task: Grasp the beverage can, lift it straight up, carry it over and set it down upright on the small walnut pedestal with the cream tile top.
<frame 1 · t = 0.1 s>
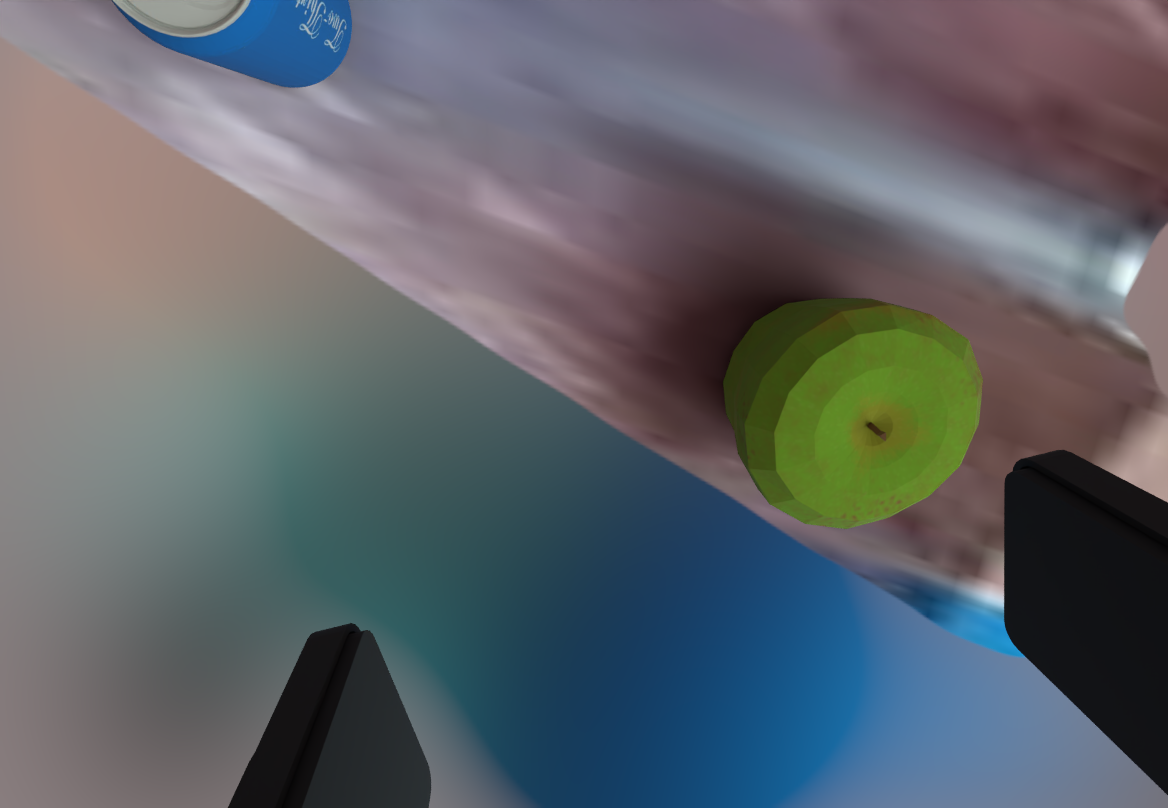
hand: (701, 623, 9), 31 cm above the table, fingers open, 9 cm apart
apple: (796, 372, 42), on the table
beverage can: (291, 19, 33), on the table
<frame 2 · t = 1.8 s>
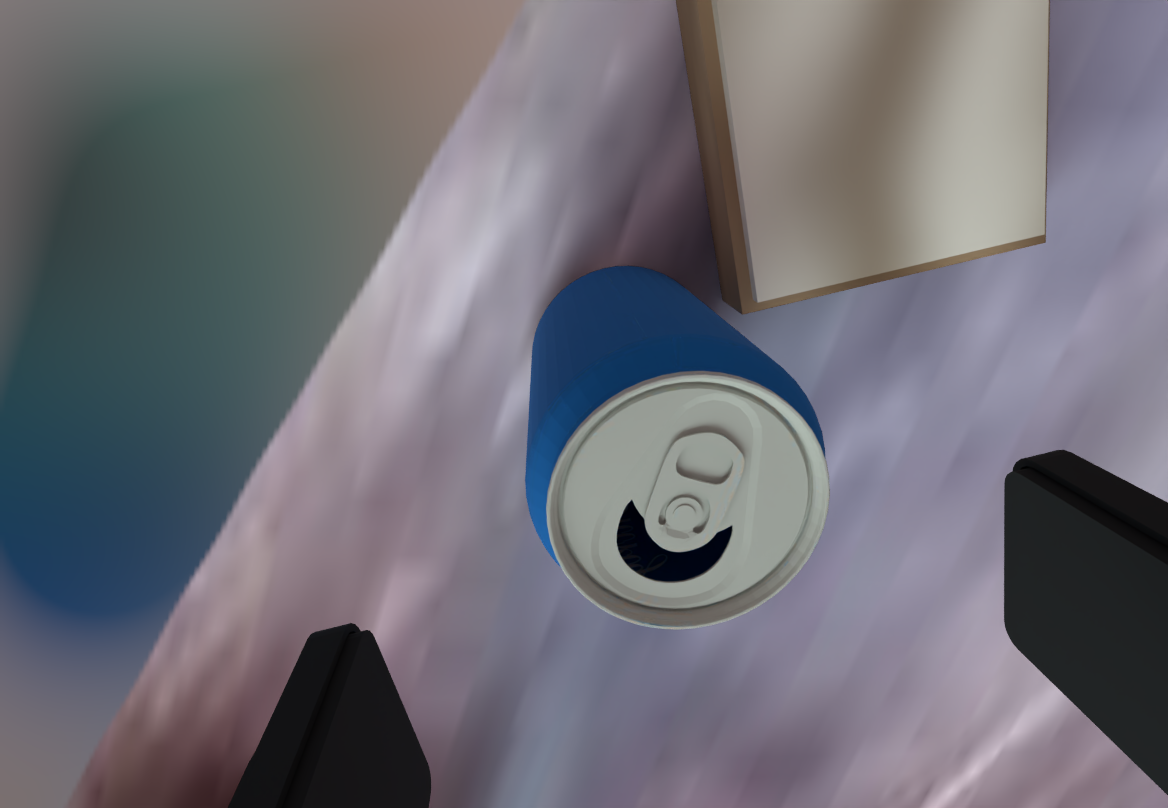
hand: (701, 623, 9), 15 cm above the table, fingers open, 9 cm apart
pedestal: (846, 120, 22), on the table
beverage can: (619, 350, 24), on the table
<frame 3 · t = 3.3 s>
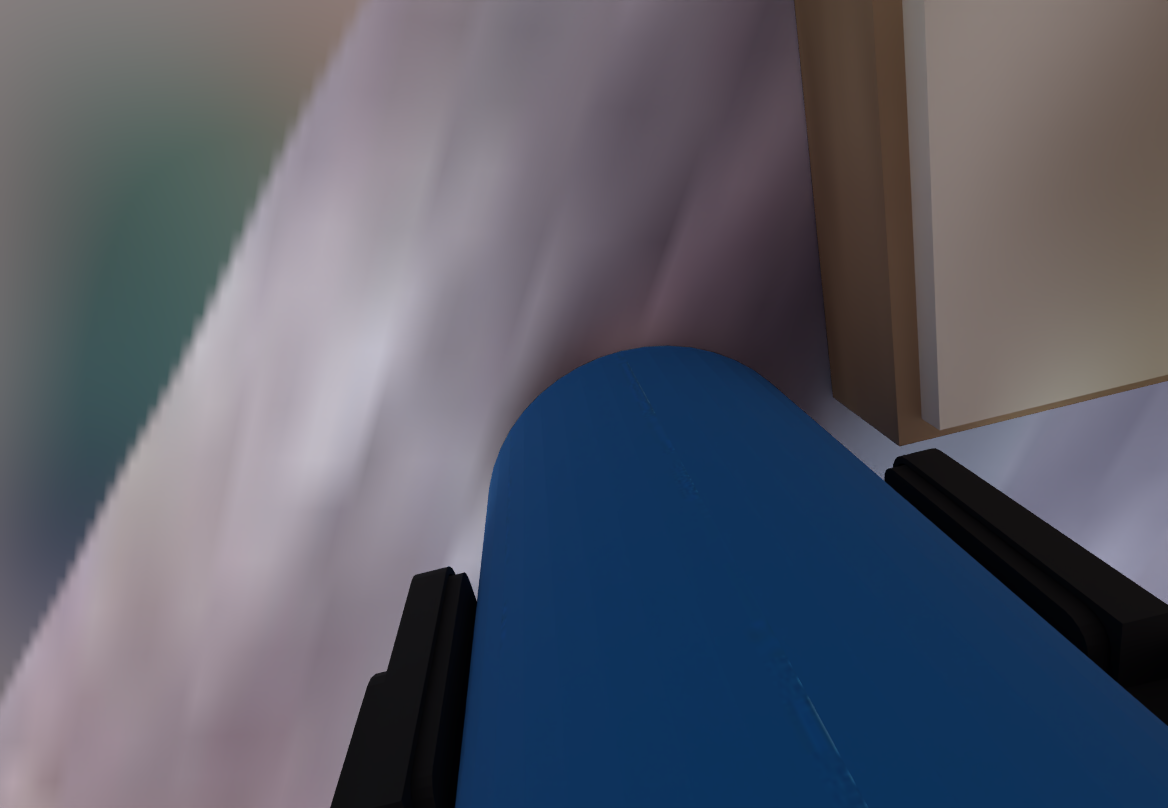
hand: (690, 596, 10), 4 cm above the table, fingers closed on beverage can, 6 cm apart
pedestal: (1083, 69, 11), on the table
beverage can: (645, 482, 14), on the table, touching gripper
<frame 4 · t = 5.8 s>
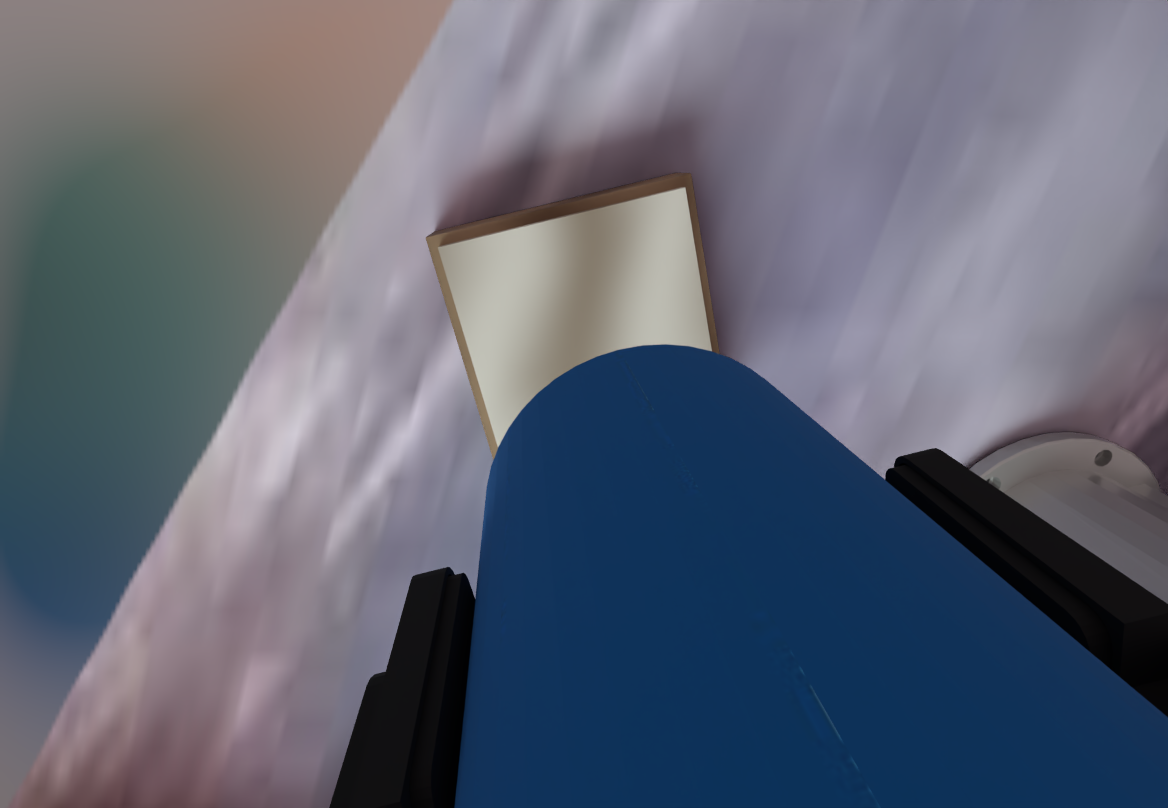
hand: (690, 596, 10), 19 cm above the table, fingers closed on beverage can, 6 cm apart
pedestal: (582, 320, 28), on the table
beverage can: (643, 481, 14), point 15 cm above the table, touching gripper
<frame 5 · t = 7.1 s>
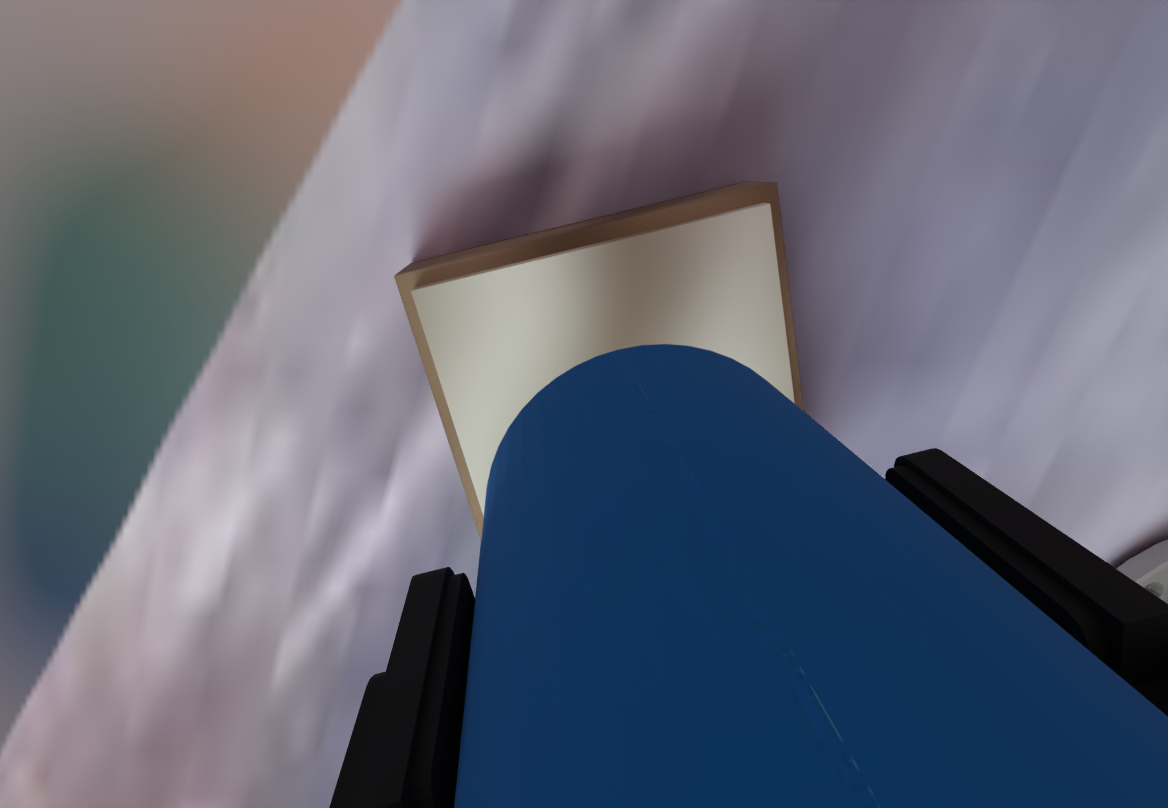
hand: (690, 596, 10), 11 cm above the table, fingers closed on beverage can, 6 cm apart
pedestal: (614, 381, 21), on the table
beverage can: (643, 481, 14), point 7 cm above the table, touching gripper
when the fingers open (8 cm above the table, at t = 8.3 s): beverage can drops 1 cm, resting on pedestal.
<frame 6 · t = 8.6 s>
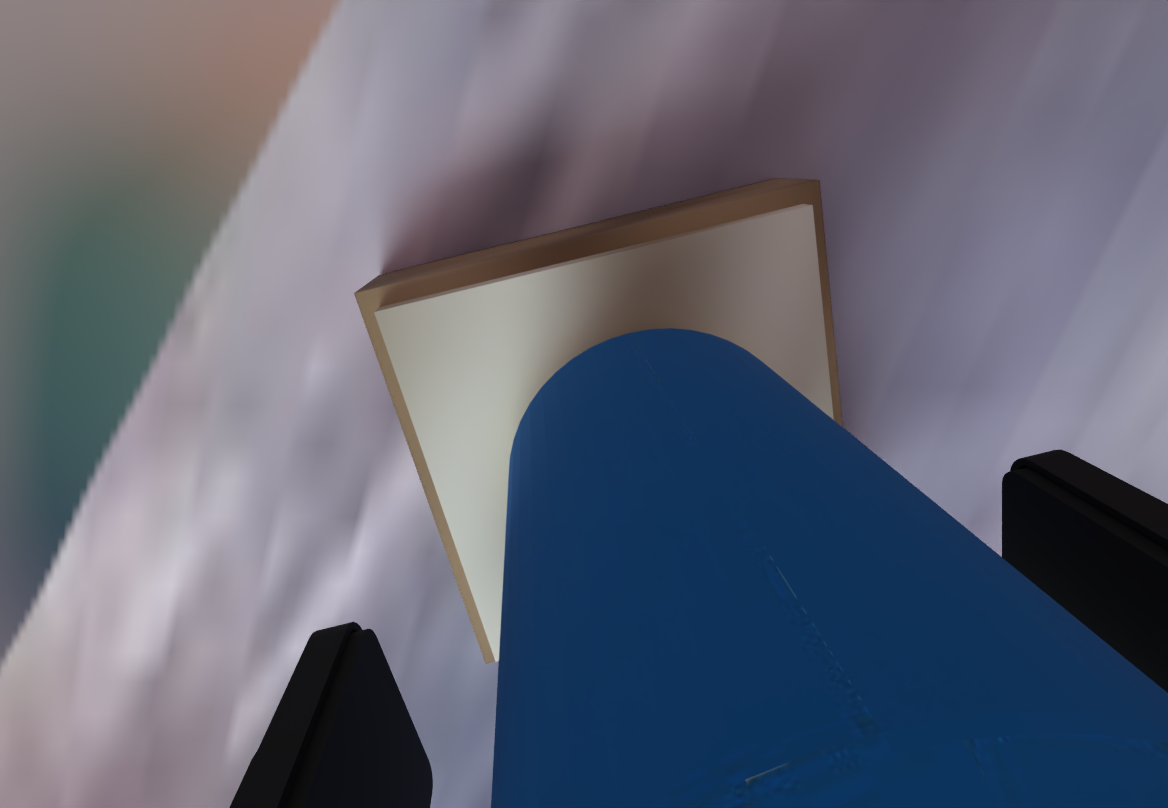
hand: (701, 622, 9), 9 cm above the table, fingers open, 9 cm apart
pedestal: (619, 411, 18), on the table
beverage can: (650, 454, 15), point 3 cm above the table, touching pedestal
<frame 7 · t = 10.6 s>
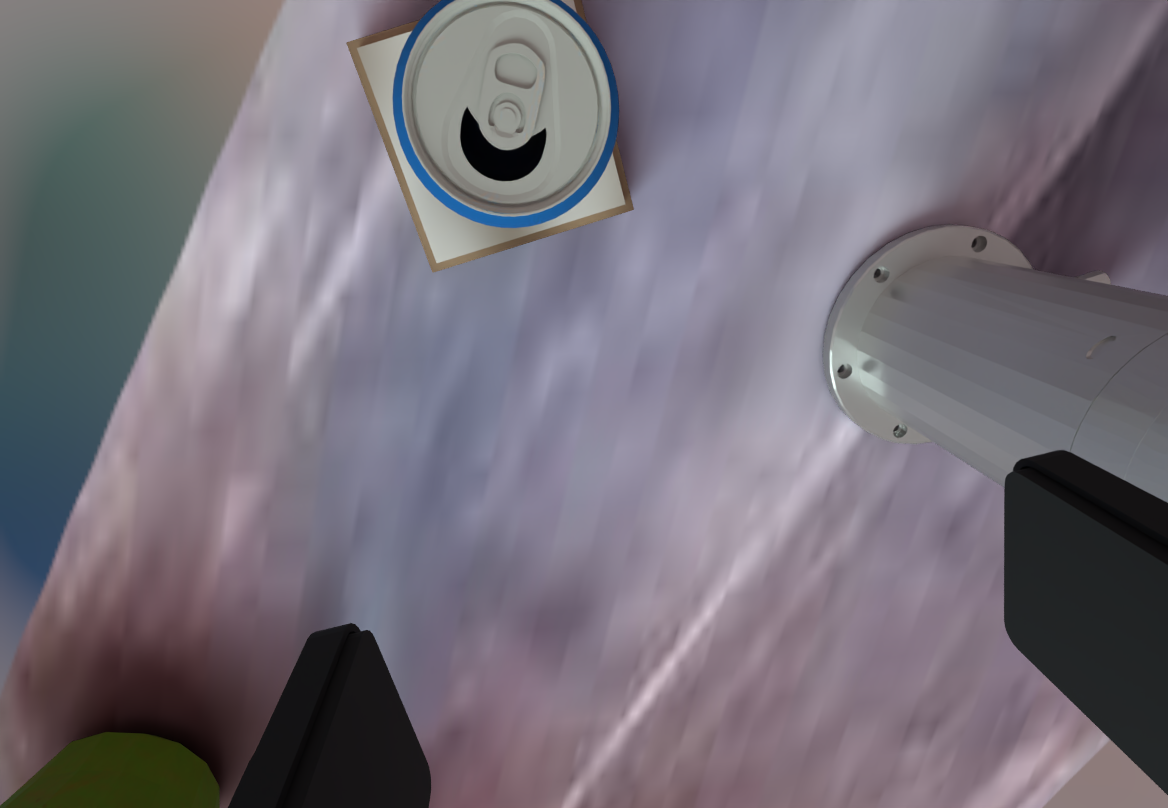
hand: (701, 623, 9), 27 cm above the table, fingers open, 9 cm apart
pedestal: (499, 133, 32), on the table
apple: (148, 772, 42), on the table
beverage can: (506, 131, 29), point 3 cm above the table, touching pedestal
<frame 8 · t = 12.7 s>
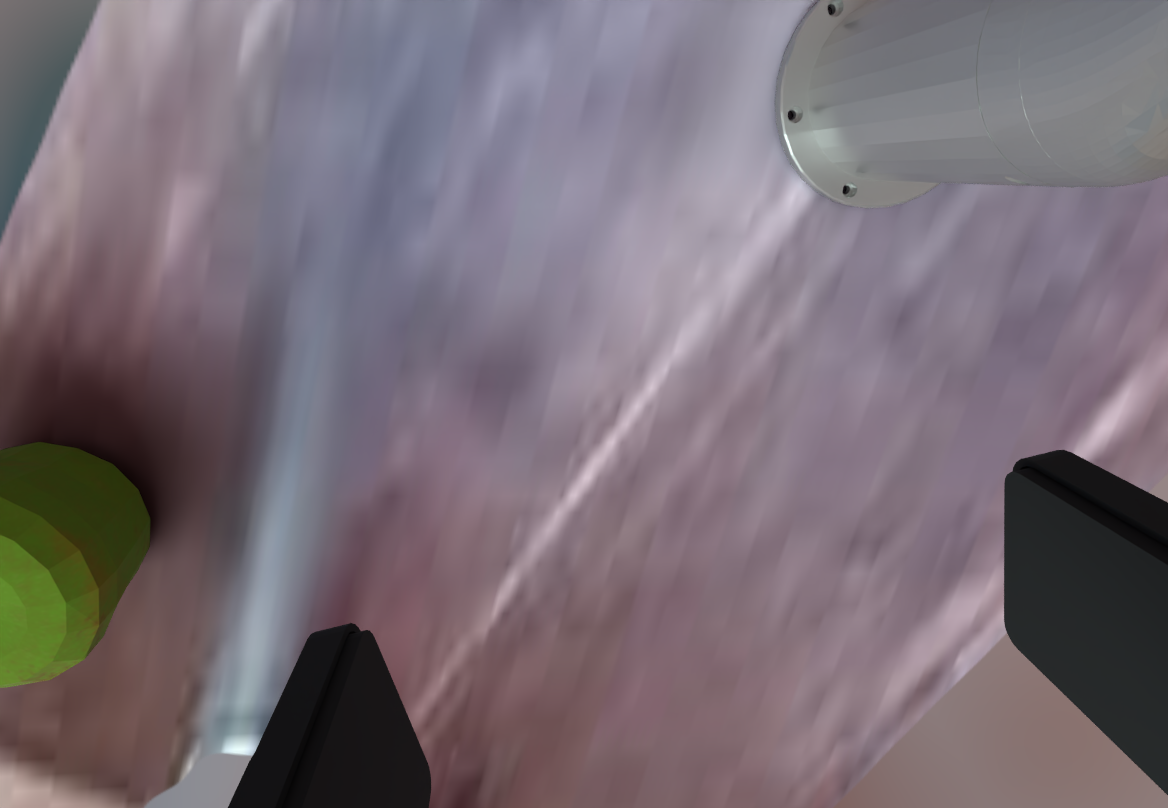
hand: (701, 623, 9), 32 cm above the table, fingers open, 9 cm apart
apple: (82, 506, 42), on the table
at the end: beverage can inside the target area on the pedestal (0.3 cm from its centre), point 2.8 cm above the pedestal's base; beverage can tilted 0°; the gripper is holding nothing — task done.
